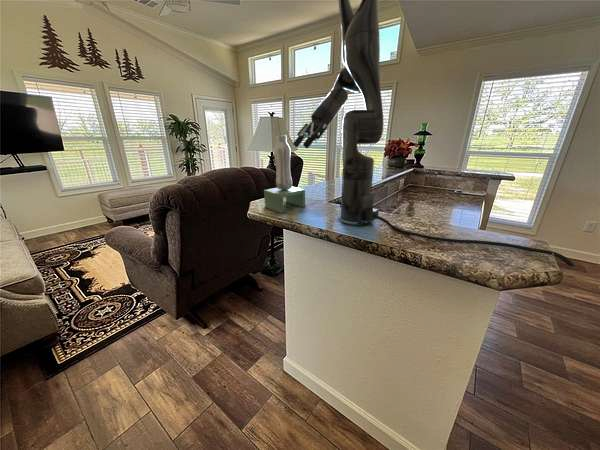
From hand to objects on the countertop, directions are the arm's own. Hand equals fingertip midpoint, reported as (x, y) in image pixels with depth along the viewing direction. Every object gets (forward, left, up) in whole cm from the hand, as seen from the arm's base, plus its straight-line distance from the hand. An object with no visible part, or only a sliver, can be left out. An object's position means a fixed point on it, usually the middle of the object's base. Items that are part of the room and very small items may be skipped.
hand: (299, 146), depth 89 cm
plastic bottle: (+2, +7, -16) cm, 18 cm away
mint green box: (+2, +7, -23) cm, 24 cm away
